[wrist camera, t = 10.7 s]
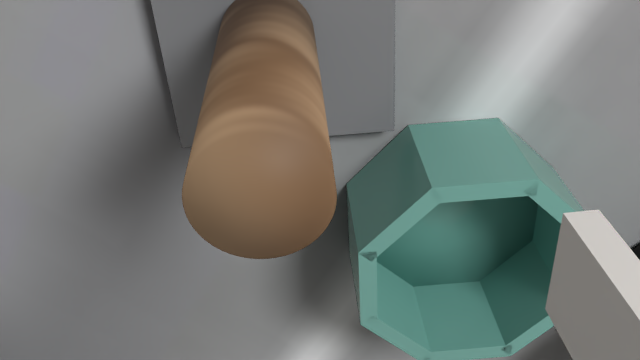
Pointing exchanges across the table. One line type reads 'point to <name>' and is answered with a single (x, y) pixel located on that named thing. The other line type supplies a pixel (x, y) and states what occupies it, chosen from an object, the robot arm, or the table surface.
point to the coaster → (332, 49)
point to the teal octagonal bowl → (456, 240)
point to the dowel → (262, 136)
